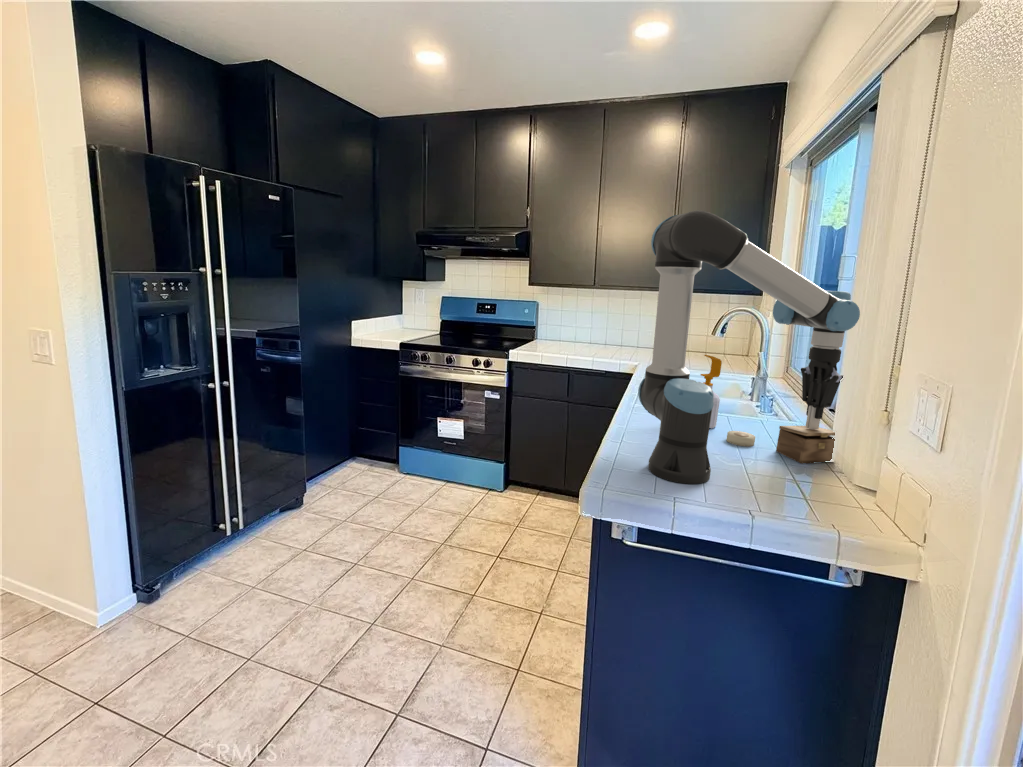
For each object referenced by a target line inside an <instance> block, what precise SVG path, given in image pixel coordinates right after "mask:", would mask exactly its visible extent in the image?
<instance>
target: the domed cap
mask: <svg viewBox="0 0 1023 767" xmlns="http://www.w3.org/2000/svg"><path fill="white" fill-rule="evenodd" d="M755 441H756V436H755V435H754V434H752V433H750V432H745V431H740V430H739V431H738V430H729V431H727V434H726V442H728V443H729V444H731V445H734V446H739V447H746V448H747V447H750V448H751V447H753V446H755V443H756V442H755Z"/></svg>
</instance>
